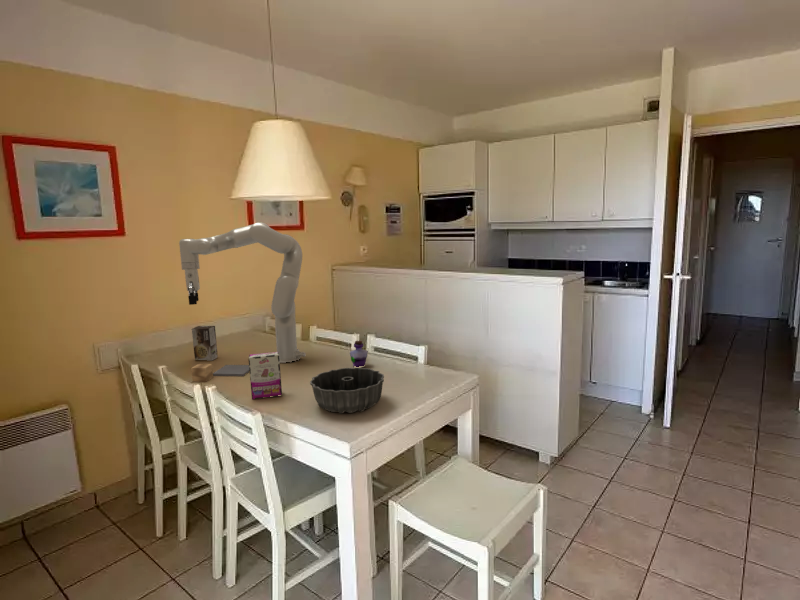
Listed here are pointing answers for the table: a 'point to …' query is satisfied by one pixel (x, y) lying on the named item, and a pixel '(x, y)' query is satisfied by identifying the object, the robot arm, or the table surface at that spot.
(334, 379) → the bundt pan
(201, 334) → the coffee box
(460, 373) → the table surface
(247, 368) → the charcoal mat
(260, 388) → the candy bar box
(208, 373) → the oak cube
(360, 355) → the potion bottle
